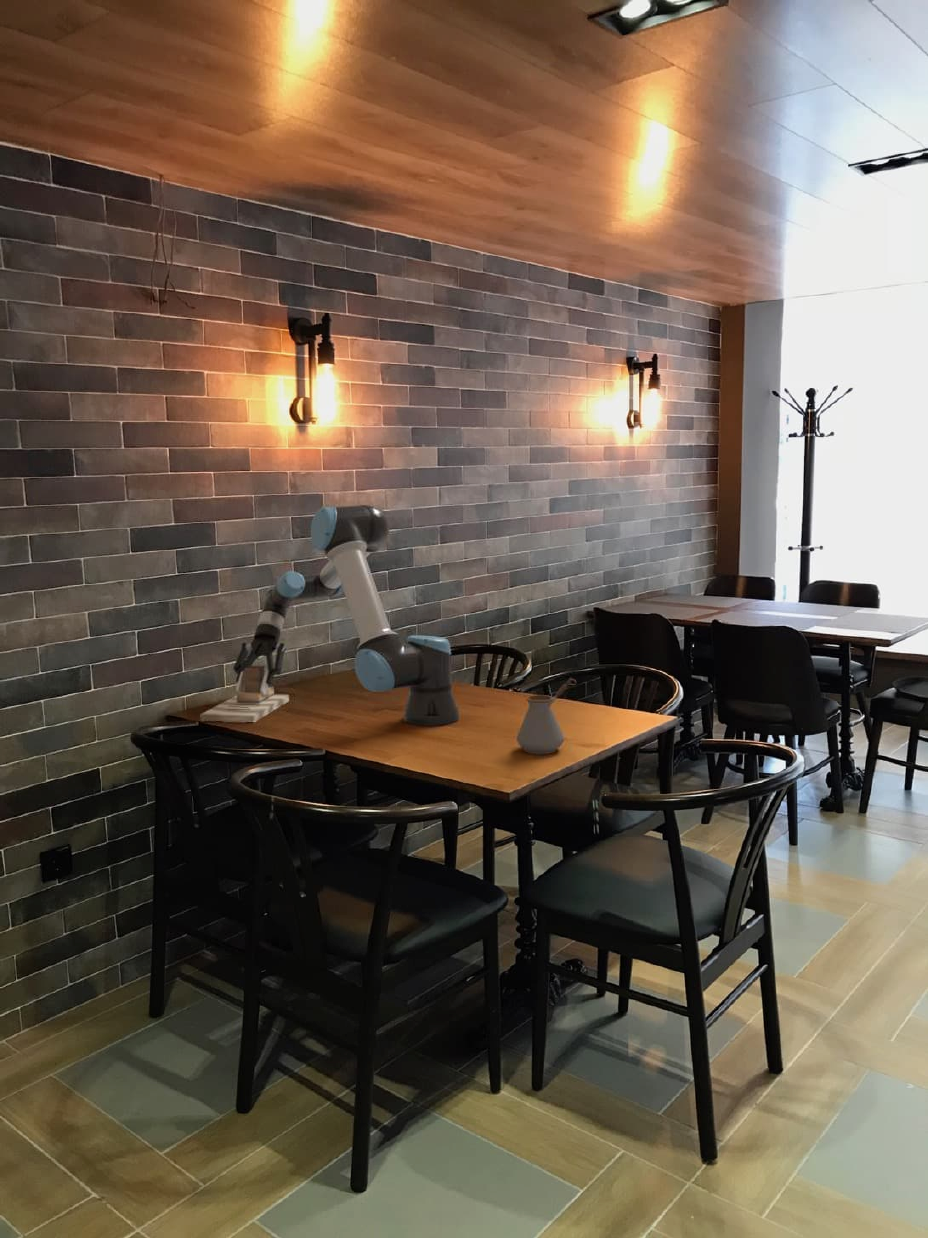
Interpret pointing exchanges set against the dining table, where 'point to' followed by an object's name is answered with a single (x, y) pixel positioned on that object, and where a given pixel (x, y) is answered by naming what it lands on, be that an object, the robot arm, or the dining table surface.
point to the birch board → (243, 709)
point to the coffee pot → (541, 725)
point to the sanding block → (254, 686)
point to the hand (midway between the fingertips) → (250, 692)
